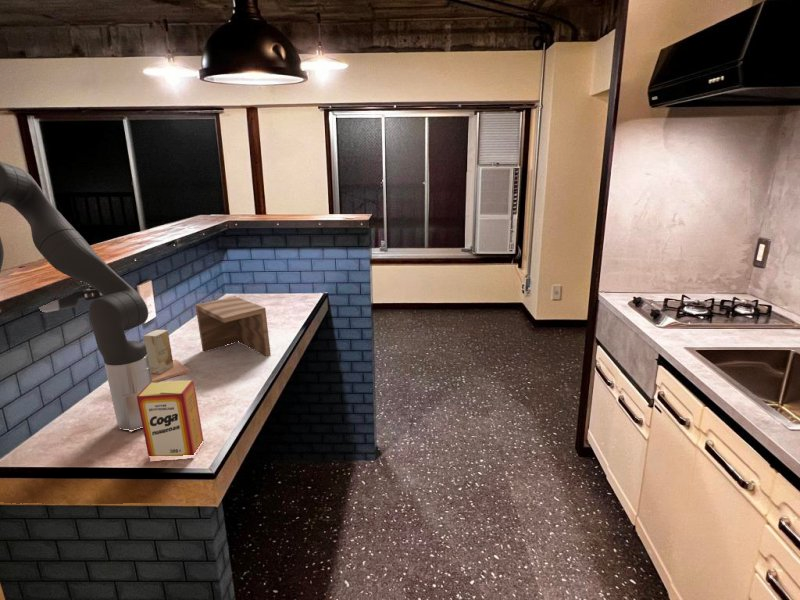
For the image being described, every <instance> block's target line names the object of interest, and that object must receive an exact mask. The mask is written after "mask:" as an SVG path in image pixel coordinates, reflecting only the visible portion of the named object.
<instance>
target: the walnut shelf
mask: <svg viewBox="0 0 800 600" xmlns="http://www.w3.org/2000/svg"><path fill="white" fill-rule="evenodd" d="M195 310H196V311H195V312H196V317H197V325H198V331H199V337H200V344H201V349H202V352H203V353H204V352H209V351H212V349H213V350H216V349H219V348H218V347H220V348H223V347H226V346H225V345H227V344H230V345H232V344H231V343H234V342H237V343H239V342H240V343H239V344H241V343H242V345H243V344H244V345H243V346H245V345H246V347H247V346H248V347H247V348H249V347H250V348H249V349H251V350H253V351H254V352H257V353H258V352H259V354H260V355H263V356H265V357H266V358H268V357H270V356H271V357H272V353H271V345H270V338H269V328H268V320H267V319H268V318H267V311H266V307H264V306H262V305H259V304H256V303H253V302H251V301H248V300H246V299H244V298H241V297H239V296H229V297H225V298H220V299H217V300H215V299H214V300H212V301H207V302H203V303H197V304H195ZM238 341H239V342H238ZM234 344H235V343H234ZM222 346H223V347H222ZM227 346H228V345H227ZM215 348H216V349H215ZM208 350H209V351H208Z"/></svg>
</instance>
